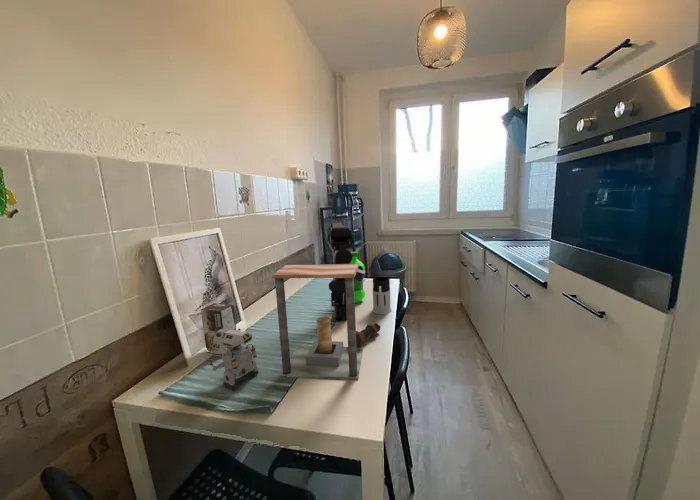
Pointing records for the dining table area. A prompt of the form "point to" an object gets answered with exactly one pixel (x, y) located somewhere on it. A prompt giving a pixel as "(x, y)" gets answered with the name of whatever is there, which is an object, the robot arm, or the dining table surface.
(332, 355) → the socket
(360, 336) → the bolt
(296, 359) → the post and lintel frame
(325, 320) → the peg
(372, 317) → the dining table surface
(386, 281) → the glass holder
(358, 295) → the plastic bottle
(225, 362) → the figurine
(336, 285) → the robot arm
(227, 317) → the coffee box
